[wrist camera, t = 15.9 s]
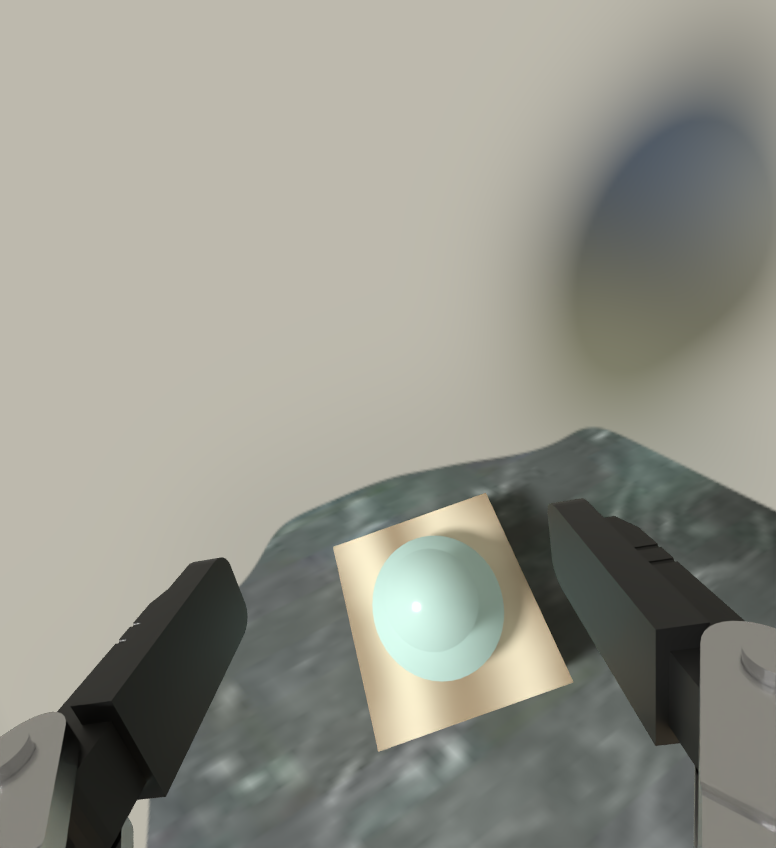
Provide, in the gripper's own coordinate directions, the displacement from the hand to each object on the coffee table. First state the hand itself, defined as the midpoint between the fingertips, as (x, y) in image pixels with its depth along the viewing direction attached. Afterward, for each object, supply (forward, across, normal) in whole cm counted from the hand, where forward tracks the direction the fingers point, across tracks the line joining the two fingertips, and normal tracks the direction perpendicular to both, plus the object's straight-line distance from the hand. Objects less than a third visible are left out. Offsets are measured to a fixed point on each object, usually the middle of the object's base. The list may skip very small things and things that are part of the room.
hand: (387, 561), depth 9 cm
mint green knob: (+12, 0, +13) cm, 18 cm away
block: (+15, 0, +16) cm, 23 cm away
